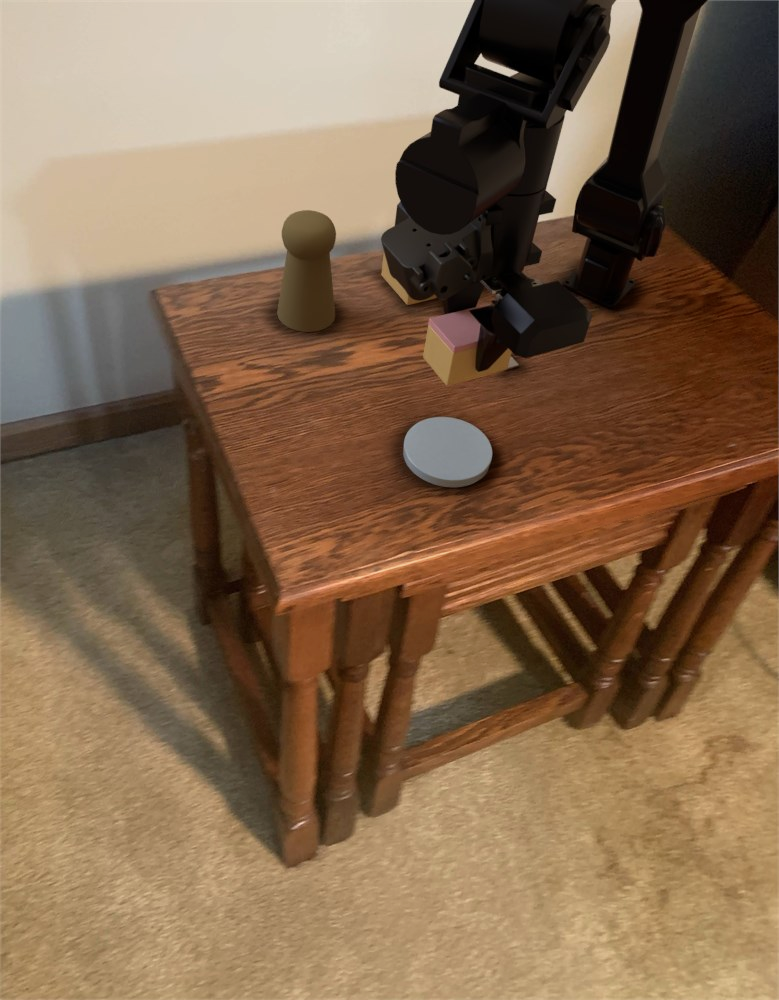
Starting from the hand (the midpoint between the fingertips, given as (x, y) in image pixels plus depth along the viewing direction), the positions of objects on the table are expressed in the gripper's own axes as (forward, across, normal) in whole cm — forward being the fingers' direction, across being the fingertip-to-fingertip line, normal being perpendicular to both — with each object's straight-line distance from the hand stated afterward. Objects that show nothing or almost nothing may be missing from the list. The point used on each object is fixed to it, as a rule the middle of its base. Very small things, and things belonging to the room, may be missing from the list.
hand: (467, 353), depth 69 cm
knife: (+10, -13, +11) cm, 20 cm away
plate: (+10, +2, -1) cm, 10 cm away
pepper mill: (+10, -22, -4) cm, 25 cm away
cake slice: (+1, 0, 0) cm, 1 cm away
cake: (+10, -23, +12) cm, 27 cm away
